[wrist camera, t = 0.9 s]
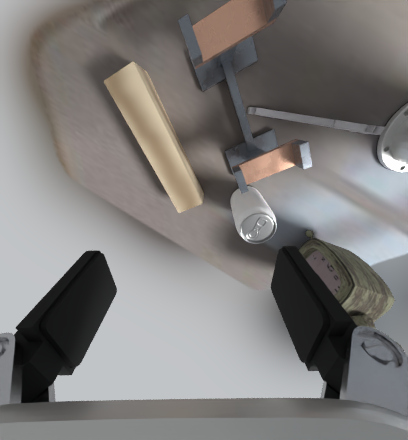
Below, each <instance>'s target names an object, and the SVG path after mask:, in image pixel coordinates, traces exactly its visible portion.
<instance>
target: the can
mask: <svg viewBox="0 0 408 440" xmlns="http://www.w3.org/2000/svg"><path fill="white" fill-rule="evenodd" d="M247 187H248V190H249V191H247V192H245V193H242V194H241V191H240V189H239V188H238V189H237V190H236V191H235V192H234V193H233V194H232V196H231V200H230V203H231V208H232V213H233V217H234V221H235V225H236V229H237V231H238V233H239V234H240V236H241V237H242V238H243V239H244V240H245V241H247V242H249V243H252V244H260V243H264V242H266V241H268V240H269V239H271V238H272V237H273V235H274V234H275V232H276V228H277V226H276V218H275V215H274V213H273V212H272V210H271V209H270V207H269V206H268V204H267V203H266V201H265V200H264V198H263V197H262V195H261V194H260V193H259V191H258V190H257V189H255V188H254V187H251V186H247Z"/></svg>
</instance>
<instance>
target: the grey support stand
mask: <svg viewBox="0 0 408 440" xmlns="http://www.w3.org/2000/svg"><path fill="white" fill-rule="evenodd" d="M286 3H287V2H286V0H231V1H229V2H228V3H226V4H225V5H223V6H222V7H220V8H219V9H217V10H216V11H214V12H213V13H211V14H210V15H208V16H207V17H205V18H204V19H202V20H201V21H199V22H197V23H196V24H194V25H193V26H192V24H191V21H190V18H189V15H188V14H187V15H185V16H184V17H182V18H181V19H179V20H178V22H179V25H180V28H181V31H182V34H183V37H184V40H185V42H186V45H187V48H188V51H189V56H190V59H191V62H192V64H193V67H194V70H195V72H196V75H197V78H198V80H199V83H200V86H201V89H202V91H205V90H207V89H209V88H210V87H212V86H214V85H216V84H218V83H219V82H221V81H223V80H225V79H226V82H227V85H228V88H229V91H230V94H231V98H232V101H233V104H234V107H235V111H236V114H237V117H238V120H239V123H240V127H241V130H242V133H243V136H244V139H245V142H243V143H241V144H239V145H237V146H234V147H232V148H230V149H228V150H226V151H225V153H226V156H227V159H228V162H229V164H230V167H231V170H232V172H233V175H234V176H235V178H236V181H237V184H238V186H239V189H240V191H241V194H242V193H245V192H247V191H249V190H248V187H247V184H250V183H252V182H255V181H257V180H260V179H262V178H265V177H267V176H270V175H272V174H275V173H277V172H280V171H282V170H285V169H287V168H290V167H292V166H295V165H296V166H298V167H300V168H302V169H306V168H309V167H311V166H312V161H311V155H310V148H309V142H308V141H303V140H298V139H295V140H293V141H290V142H288V143H286V144H283V145H281V146H279V147H278V144H277V140H276V136H275V131H274V129H271V130H269V131H267V132H265V133H263V134H261V135H258V136H256V137H254V138H253V137H252V134H251V130H250V127H249V123H248V120H247V116H246V113H245V109H244V106H243V103H242V99H241V96H240V92H239V89H238V85H237V82H236V78H235V75H234V74H236V73H237V72H239V71H241V70H243V69H244V68H246V67H248V66H250V65H252V64H253V63H255V62H257V60H258V59H257V54H256V50H255V46H254V41H253V37H252V35H254V34H256V33H257V32H259V31H261V30H262V29H264V28H266V27H267V26H269V25H271V24H273V23H274V22H275V20H276V19H277V17H278V15H279V14H280V12H281V11H282V9H283V7H284V6H285V4H286Z"/></svg>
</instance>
